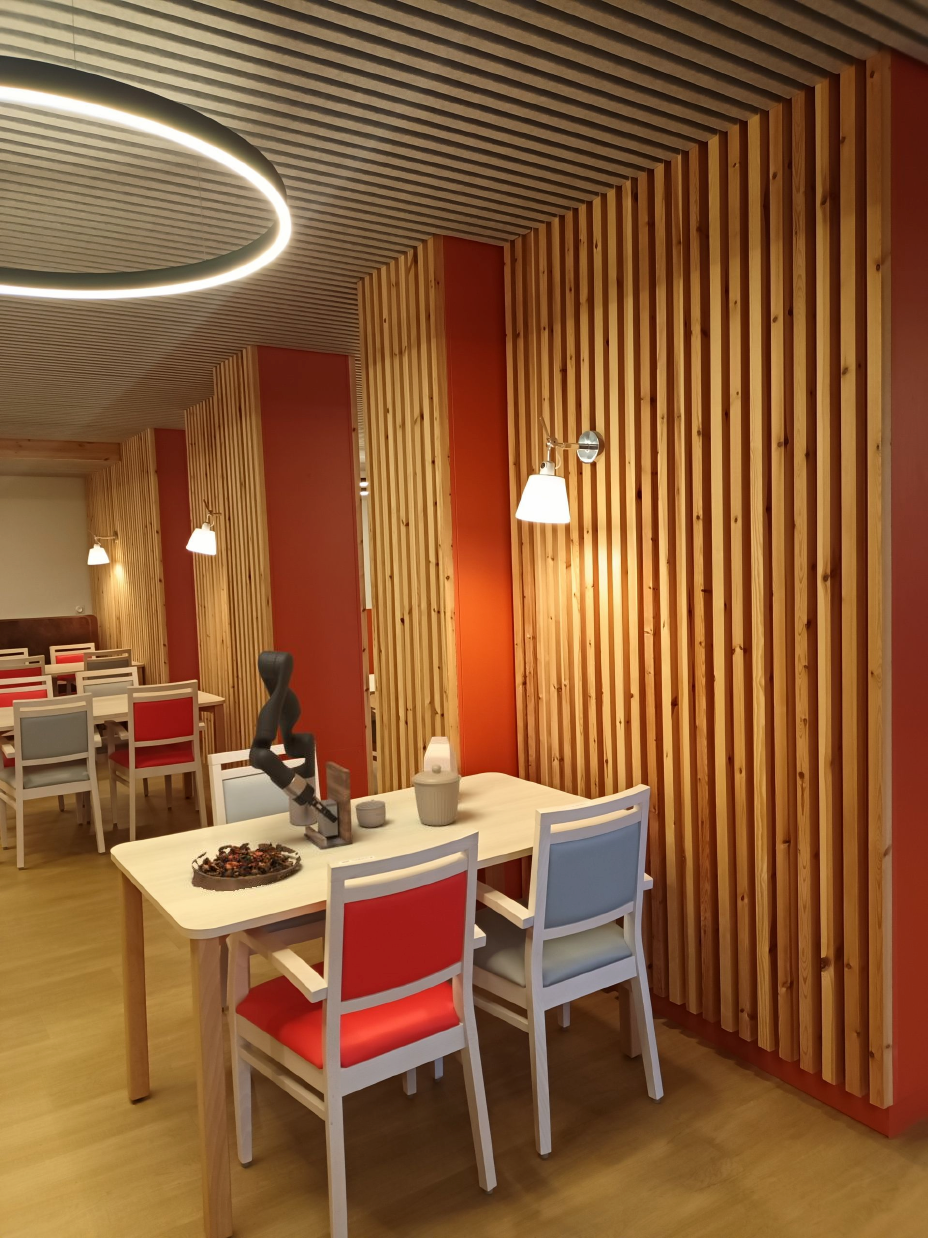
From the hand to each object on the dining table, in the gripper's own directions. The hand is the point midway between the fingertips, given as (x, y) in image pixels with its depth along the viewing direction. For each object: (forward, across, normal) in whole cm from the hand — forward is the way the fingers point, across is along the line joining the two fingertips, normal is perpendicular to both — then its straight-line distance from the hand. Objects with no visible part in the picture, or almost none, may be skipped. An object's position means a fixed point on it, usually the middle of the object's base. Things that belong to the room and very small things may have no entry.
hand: (332, 818), depth 312 cm
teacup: (+18, +10, -8) cm, 23 cm away
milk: (+43, +24, -33) cm, 59 cm away
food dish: (-19, -17, +30) cm, 40 cm away
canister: (+33, -1, -23) cm, 40 cm away
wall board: (+4, 0, +6) cm, 8 cm away
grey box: (+2, 0, +5) cm, 5 cm away
